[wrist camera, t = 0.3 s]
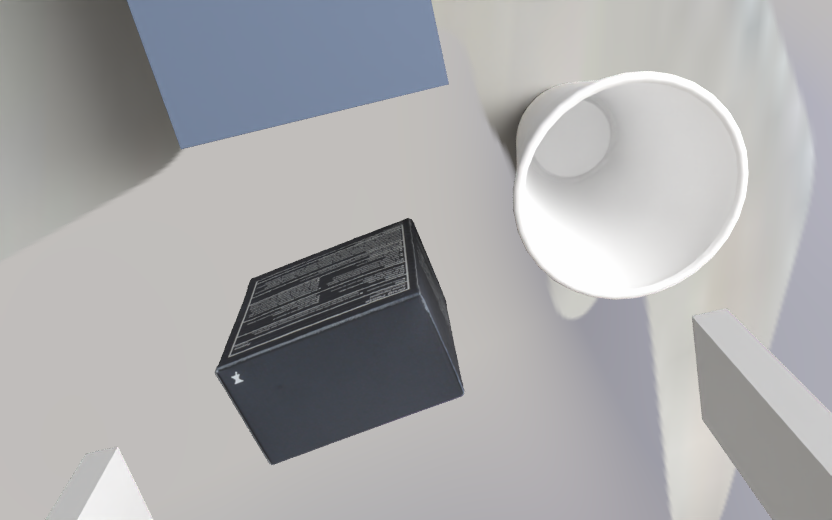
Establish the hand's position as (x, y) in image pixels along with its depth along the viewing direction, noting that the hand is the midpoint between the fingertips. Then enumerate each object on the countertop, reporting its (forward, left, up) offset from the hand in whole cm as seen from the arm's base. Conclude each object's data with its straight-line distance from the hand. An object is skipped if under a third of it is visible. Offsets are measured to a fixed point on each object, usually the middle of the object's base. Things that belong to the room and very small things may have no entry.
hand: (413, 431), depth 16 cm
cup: (+1, +10, -26) cm, 28 cm away
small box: (+8, -5, -26) cm, 28 cm away
